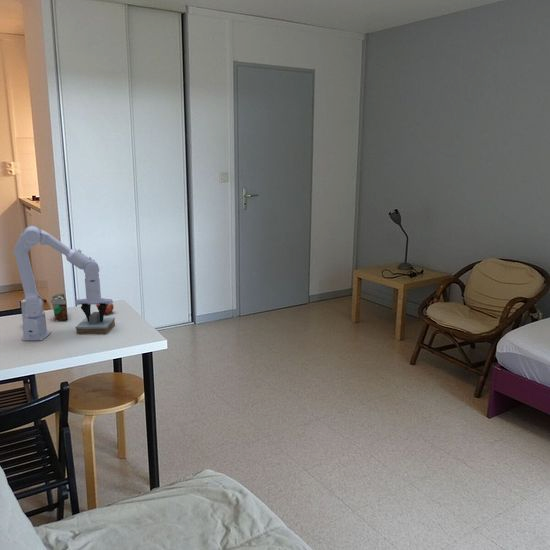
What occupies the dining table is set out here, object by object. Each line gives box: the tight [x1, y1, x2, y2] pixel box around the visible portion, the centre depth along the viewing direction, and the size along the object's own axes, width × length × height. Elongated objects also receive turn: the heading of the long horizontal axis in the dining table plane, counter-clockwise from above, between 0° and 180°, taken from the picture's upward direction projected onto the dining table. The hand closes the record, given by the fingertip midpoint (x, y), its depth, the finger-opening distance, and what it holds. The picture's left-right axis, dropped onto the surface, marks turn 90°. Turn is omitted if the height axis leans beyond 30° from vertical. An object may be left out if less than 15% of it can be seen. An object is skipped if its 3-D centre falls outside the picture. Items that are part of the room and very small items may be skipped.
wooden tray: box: [75, 320, 116, 335], centre depth 221 cm, size 12×12×2 cm
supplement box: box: [20, 298, 26, 324], centre depth 225 cm, size 6×6×12 cm
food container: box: [50, 292, 69, 322], centre depth 234 cm, size 12×6×10 cm, turn 25°
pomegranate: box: [95, 300, 115, 315], centre depth 241 cm, size 7×7×10 cm
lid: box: [75, 311, 116, 329], centre depth 220 cm, size 12×12×5 cm
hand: (95, 321), depth 220 cm, fingers open, 4 cm apart
